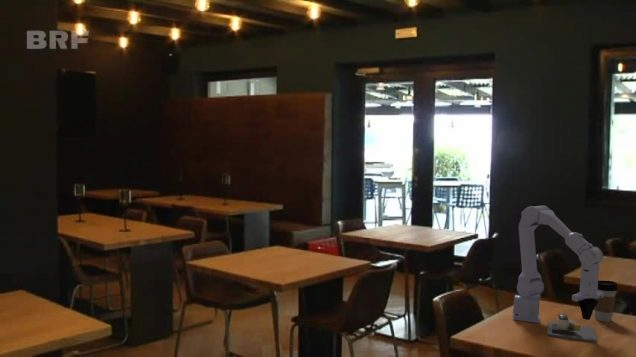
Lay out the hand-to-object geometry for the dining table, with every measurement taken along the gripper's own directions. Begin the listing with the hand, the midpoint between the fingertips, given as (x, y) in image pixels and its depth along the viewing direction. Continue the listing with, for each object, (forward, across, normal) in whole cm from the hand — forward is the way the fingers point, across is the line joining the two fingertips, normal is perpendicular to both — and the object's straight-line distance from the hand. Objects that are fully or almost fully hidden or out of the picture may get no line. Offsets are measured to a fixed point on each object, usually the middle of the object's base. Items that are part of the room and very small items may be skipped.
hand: (586, 319), depth 218 cm
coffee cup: (+6, +24, +11) cm, 27 cm away
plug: (+6, -5, +5) cm, 10 cm away
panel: (+6, -2, +4) cm, 8 cm away
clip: (+4, -2, +6) cm, 7 cm away
